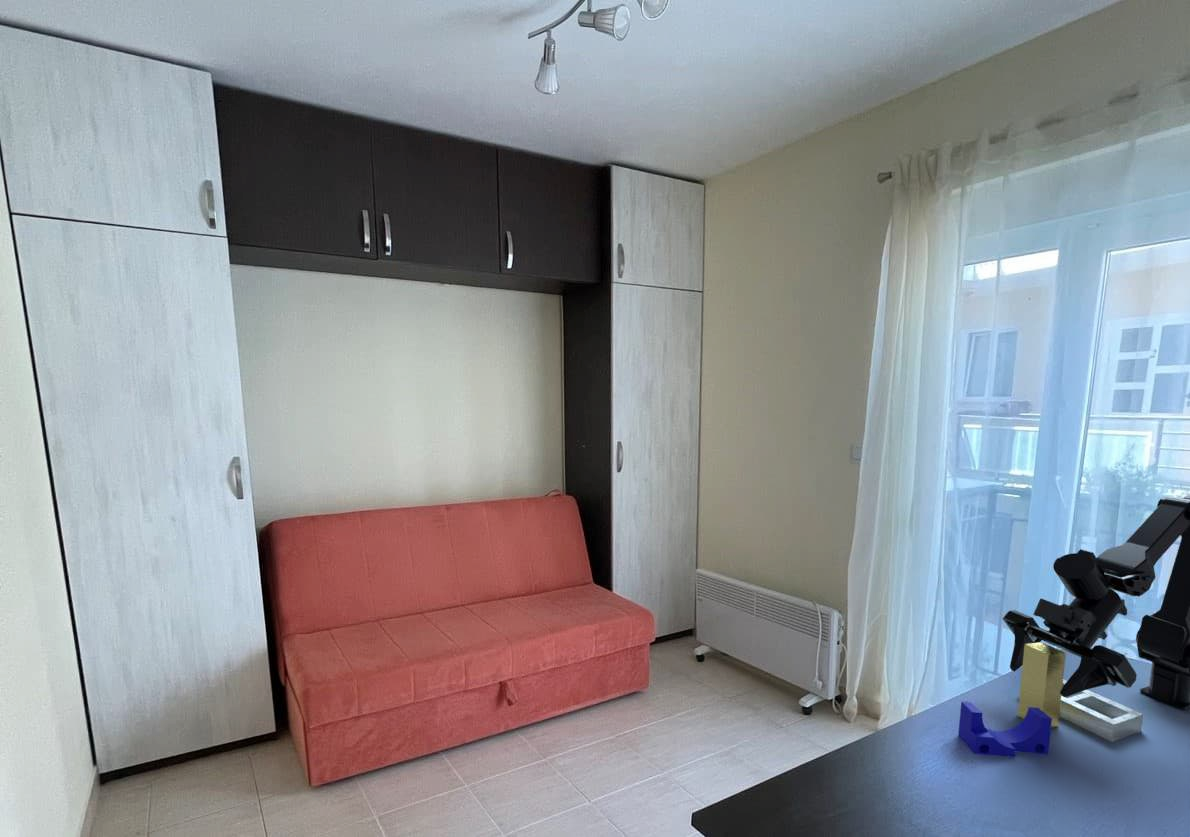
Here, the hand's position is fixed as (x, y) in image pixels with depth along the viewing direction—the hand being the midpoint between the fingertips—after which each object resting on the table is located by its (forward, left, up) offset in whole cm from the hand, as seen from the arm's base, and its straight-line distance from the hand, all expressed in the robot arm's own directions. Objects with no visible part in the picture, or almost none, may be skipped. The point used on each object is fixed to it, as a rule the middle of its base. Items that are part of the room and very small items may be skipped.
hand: (1035, 681), depth 97 cm
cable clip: (+12, +3, -8) cm, 15 cm away
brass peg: (-1, 0, -7) cm, 7 cm away
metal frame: (-11, +1, -7) cm, 13 cm away
